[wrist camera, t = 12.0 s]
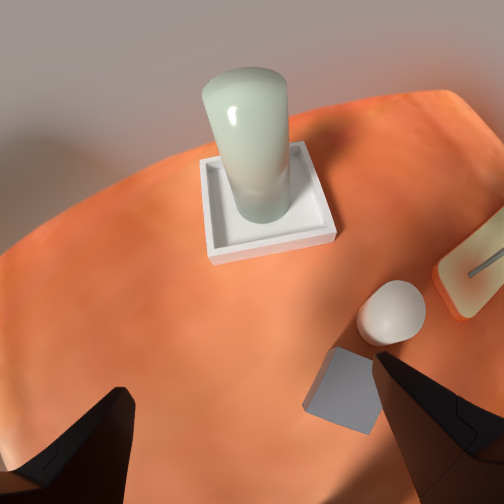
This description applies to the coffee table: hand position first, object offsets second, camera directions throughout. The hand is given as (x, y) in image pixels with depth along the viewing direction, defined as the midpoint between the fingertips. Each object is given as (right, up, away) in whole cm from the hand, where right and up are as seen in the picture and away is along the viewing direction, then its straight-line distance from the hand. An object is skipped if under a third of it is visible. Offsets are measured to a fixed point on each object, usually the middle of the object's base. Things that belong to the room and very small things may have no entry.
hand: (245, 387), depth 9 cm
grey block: (+8, -6, +11) cm, 15 cm away
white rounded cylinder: (+11, -1, +13) cm, 17 cm away
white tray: (+1, +9, +19) cm, 21 cm away
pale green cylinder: (+1, +9, +18) cm, 21 cm away
